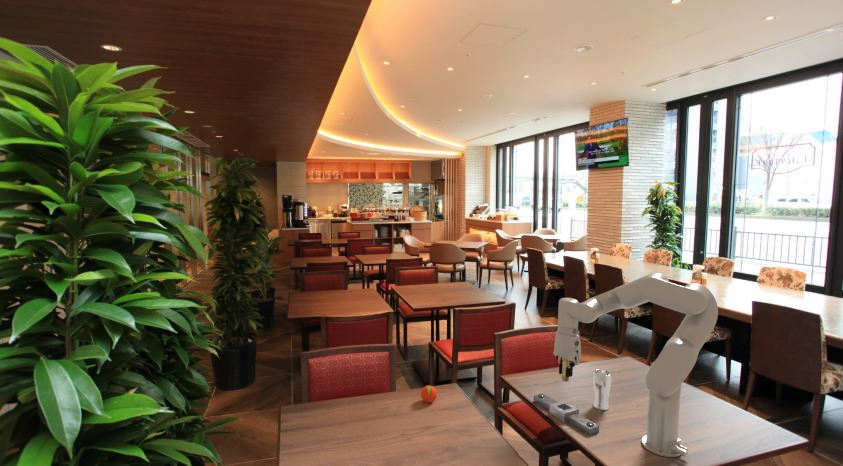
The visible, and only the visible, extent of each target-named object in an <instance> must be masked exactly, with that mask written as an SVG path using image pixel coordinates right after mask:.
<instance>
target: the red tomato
mask: <svg viewBox="0 0 843 466" xmlns="http://www.w3.org/2000/svg"><path fill="white" fill-rule="evenodd" d="M420 396H421V399H422V401H424V402H425V403H427V404H429V403H433V402H435V400H436V399H437V397H438V392H437V389H436V388H435V387H434V386H432V385H425V386H424V387H423V388H422V389H421V392H420Z"/></svg>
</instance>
